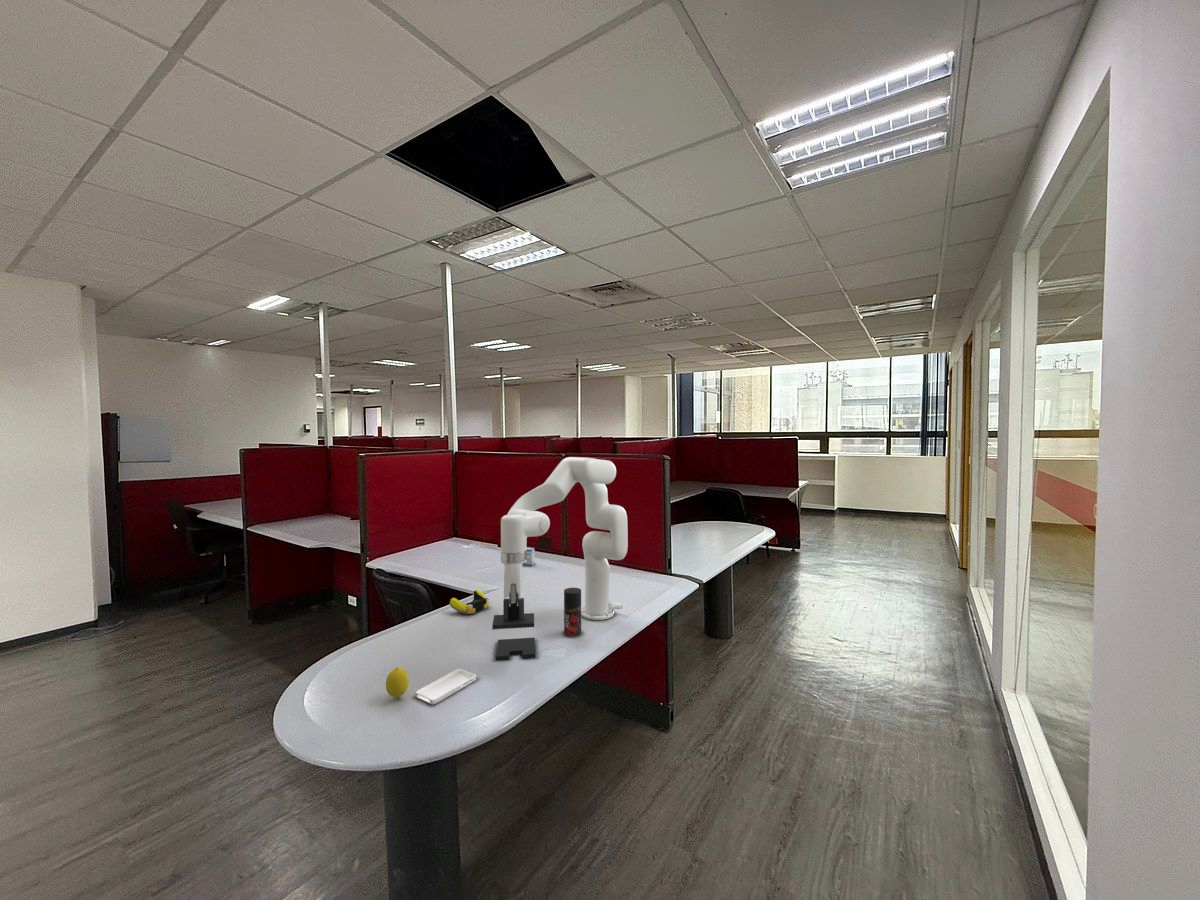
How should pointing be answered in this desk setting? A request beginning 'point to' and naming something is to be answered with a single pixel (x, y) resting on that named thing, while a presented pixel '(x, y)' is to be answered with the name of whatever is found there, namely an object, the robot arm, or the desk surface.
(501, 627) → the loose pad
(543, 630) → the desk surface
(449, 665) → the desk surface
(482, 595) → the gaming controller
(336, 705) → the desk surface
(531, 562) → the blue and white box
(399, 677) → the lemon
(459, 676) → the phone case
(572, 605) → the deodorant
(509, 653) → the base pad
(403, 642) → the desk surface
